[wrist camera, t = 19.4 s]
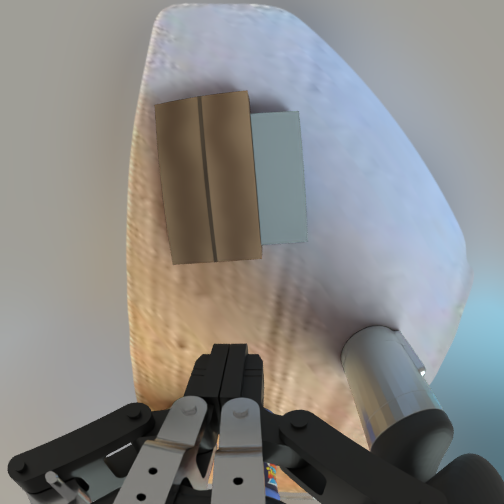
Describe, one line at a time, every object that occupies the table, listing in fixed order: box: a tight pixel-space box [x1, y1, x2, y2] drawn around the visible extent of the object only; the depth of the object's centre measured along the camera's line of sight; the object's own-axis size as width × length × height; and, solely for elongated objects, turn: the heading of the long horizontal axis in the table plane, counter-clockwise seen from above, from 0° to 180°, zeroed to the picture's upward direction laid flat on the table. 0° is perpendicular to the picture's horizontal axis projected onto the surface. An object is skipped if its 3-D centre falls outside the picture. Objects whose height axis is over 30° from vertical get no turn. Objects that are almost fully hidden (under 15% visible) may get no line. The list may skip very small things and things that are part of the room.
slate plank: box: [250, 111, 308, 245], centre depth 31 cm, size 5×14×4 cm, turn 5°
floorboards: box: [155, 91, 262, 265], centre depth 31 cm, size 10×18×4 cm, turn 5°
